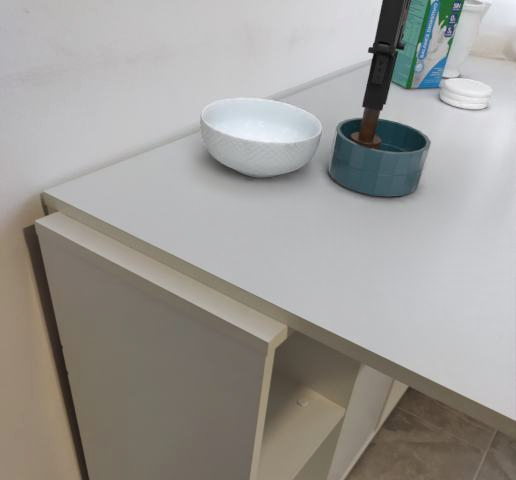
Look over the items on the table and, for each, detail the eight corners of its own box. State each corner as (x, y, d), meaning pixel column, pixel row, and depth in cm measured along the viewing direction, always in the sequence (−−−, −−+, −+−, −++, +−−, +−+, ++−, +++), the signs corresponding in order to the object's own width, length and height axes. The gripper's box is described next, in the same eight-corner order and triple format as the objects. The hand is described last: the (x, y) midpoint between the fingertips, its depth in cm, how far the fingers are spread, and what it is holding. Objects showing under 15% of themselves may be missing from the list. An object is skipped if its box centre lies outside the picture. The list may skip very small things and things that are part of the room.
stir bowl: (421, 172, 83) (434, 129, 78) (411, 207, 73) (425, 161, 69) (338, 153, 85) (346, 111, 81) (318, 185, 75) (326, 140, 71)
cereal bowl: (204, 191, 71) (205, 138, 66) (195, 142, 83) (196, 94, 78) (327, 193, 74) (336, 142, 69) (301, 146, 86) (308, 99, 81)
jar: (461, 83, 124) (485, 8, 114) (417, 74, 126) (437, -1, 116) (465, 72, 132) (488, 1, 122) (423, 64, 134) (442, -7, 124)
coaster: (432, 101, 111) (437, 83, 109) (447, 91, 118) (452, 74, 115) (479, 114, 108) (486, 95, 105) (492, 103, 114) (498, 85, 112)
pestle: (377, 162, 80) (417, 1, 66) (372, 173, 76) (413, 7, 63) (348, 156, 80) (382, -4, 67) (342, 167, 77) (376, 0, 64)
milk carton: (406, 89, 116) (443, -54, 99) (383, 76, 122) (414, -61, 105) (439, 87, 119) (480, -51, 103) (414, 75, 125) (450, -58, 109)
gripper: (401, -126, 63) (357, 85, 79) (380, -132, 52) (335, 115, 68) (465, -118, 62) (408, 95, 78) (458, -122, 51) (393, 128, 66)
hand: (374, 104), depth 73 cm, fingers closed on pestle, 2 cm apart
